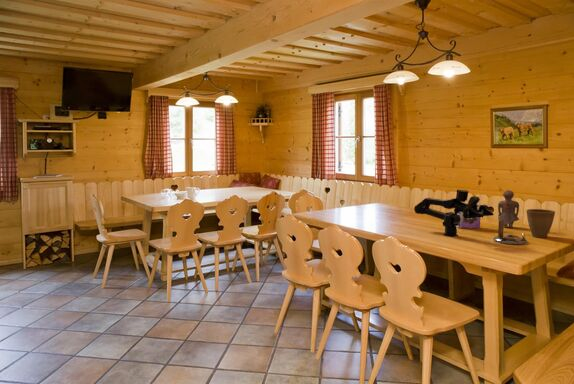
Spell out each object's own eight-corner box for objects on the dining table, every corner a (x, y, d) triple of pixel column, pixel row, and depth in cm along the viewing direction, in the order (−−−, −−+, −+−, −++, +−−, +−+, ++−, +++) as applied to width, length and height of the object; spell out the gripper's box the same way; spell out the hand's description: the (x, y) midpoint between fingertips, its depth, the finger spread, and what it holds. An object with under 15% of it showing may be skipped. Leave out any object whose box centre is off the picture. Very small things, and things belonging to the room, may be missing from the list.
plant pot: (559, 238, 251) (561, 211, 249) (537, 240, 249) (538, 213, 247) (541, 233, 266) (542, 208, 264) (519, 234, 263) (520, 209, 261)
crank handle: (493, 238, 246) (494, 219, 245) (507, 236, 252) (508, 217, 251) (513, 242, 235) (514, 222, 234) (528, 240, 241) (528, 220, 240)
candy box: (458, 228, 286) (459, 204, 284) (456, 226, 292) (457, 203, 290) (480, 228, 284) (480, 204, 282) (477, 227, 289) (478, 203, 287)
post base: (487, 240, 250) (487, 232, 249) (506, 237, 258) (506, 229, 257) (513, 246, 235) (514, 237, 234) (533, 242, 243) (533, 234, 242)
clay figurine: (519, 226, 287) (520, 190, 285) (518, 229, 279) (520, 191, 276) (497, 225, 294) (499, 189, 291) (496, 227, 285) (497, 190, 283)
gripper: (456, 196, 248) (480, 203, 235) (476, 193, 257) (500, 200, 244) (453, 214, 250) (477, 222, 237) (474, 211, 260) (497, 218, 247)
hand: (488, 215), depth 241 cm, fingers open, 9 cm apart
